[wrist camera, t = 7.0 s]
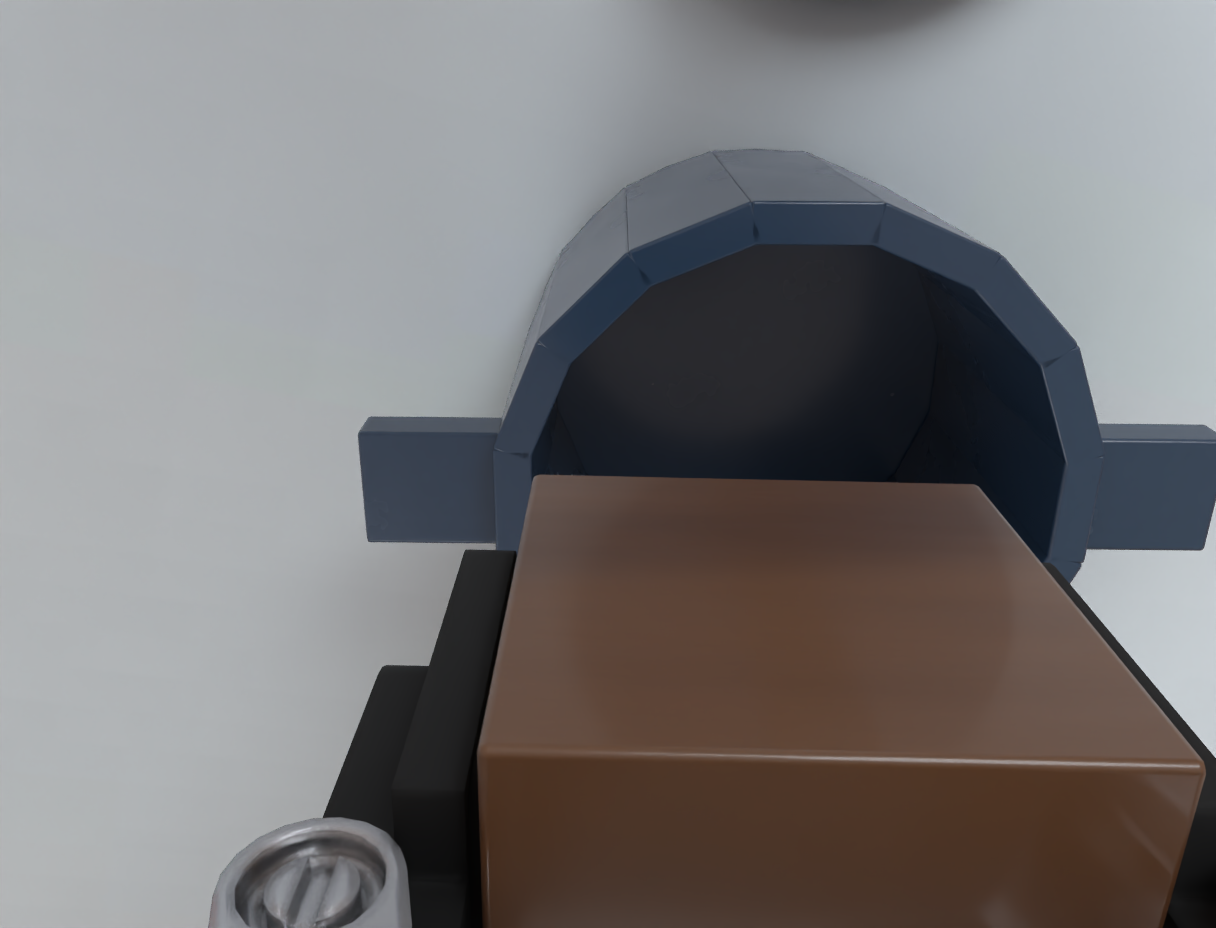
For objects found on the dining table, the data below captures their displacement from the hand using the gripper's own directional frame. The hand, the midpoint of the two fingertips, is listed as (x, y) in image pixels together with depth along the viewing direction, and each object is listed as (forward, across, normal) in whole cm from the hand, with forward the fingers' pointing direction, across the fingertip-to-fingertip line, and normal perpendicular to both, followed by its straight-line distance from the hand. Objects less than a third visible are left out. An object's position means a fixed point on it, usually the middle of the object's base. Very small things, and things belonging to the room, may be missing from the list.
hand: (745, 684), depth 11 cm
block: (0, 0, 0) cm, 0 cm away
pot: (+18, -2, +2) cm, 18 cm away
